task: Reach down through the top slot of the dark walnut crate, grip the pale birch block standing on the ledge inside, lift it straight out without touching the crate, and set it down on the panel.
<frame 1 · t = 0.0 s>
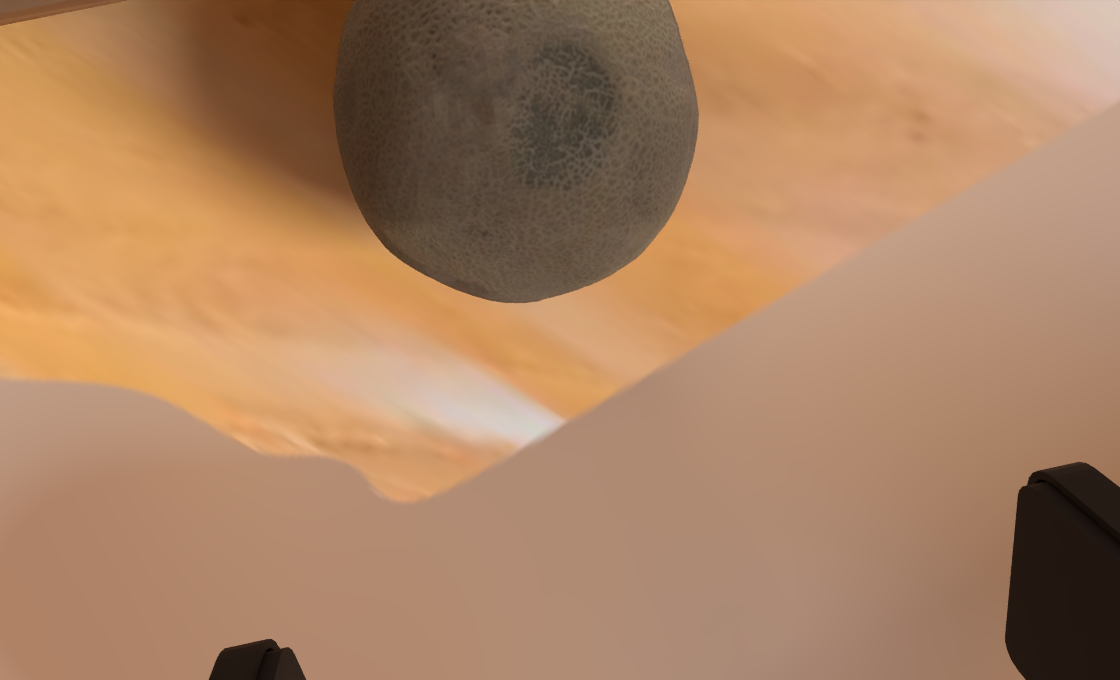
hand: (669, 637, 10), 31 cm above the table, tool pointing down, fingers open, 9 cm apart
dark grey rounded lump: (508, 92, 37), on the table
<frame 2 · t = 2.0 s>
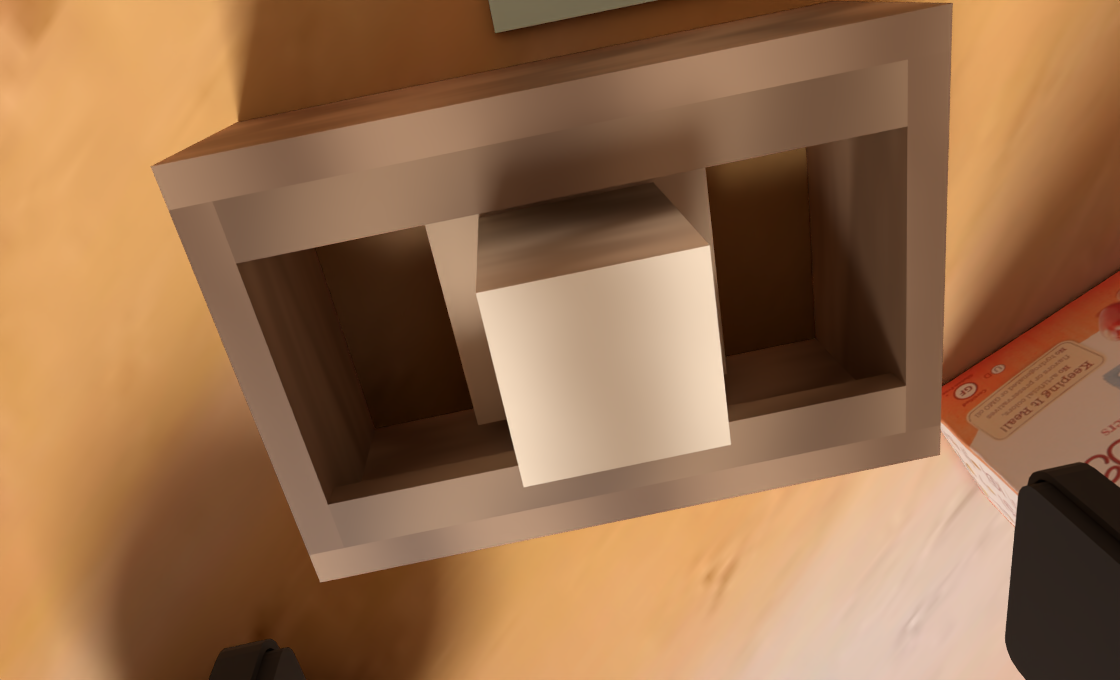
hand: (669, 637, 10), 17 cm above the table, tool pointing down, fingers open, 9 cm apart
crate: (570, 251, 25), on the table
cracker box: (1104, 336, 29), on the table
block: (581, 282, 23), point 3 cm above the table, touching crate
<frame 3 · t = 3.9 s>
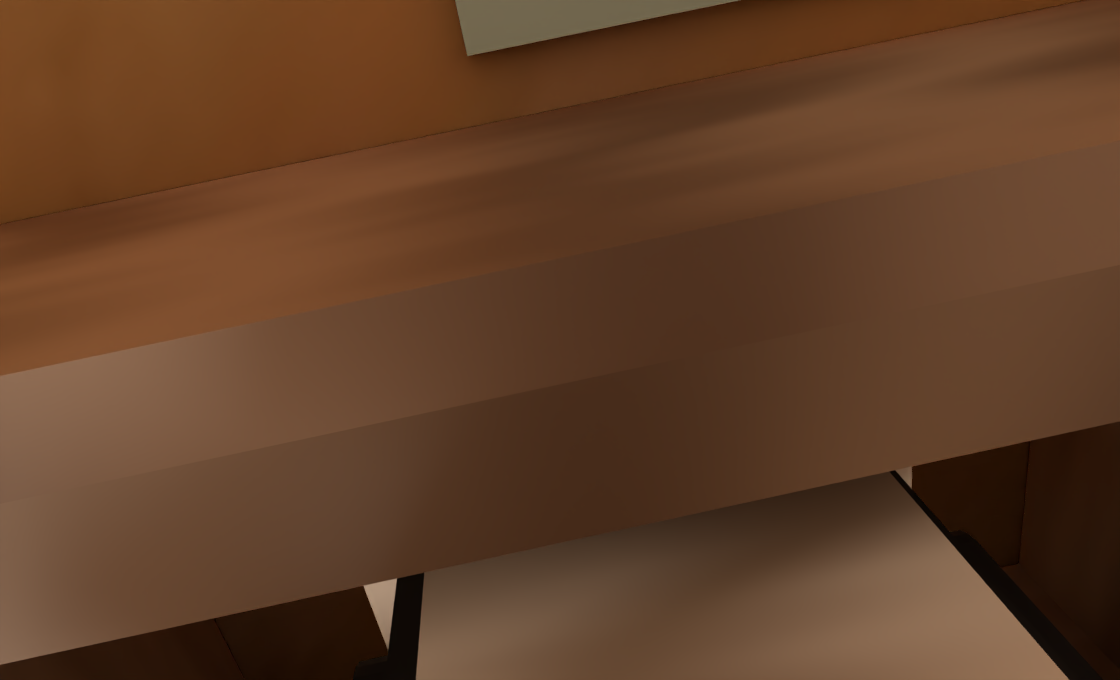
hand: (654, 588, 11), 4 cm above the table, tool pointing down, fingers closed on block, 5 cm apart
crate: (611, 447, 14), on the table
block: (645, 558, 11), point 3 cm above the table, touching crate, gripper
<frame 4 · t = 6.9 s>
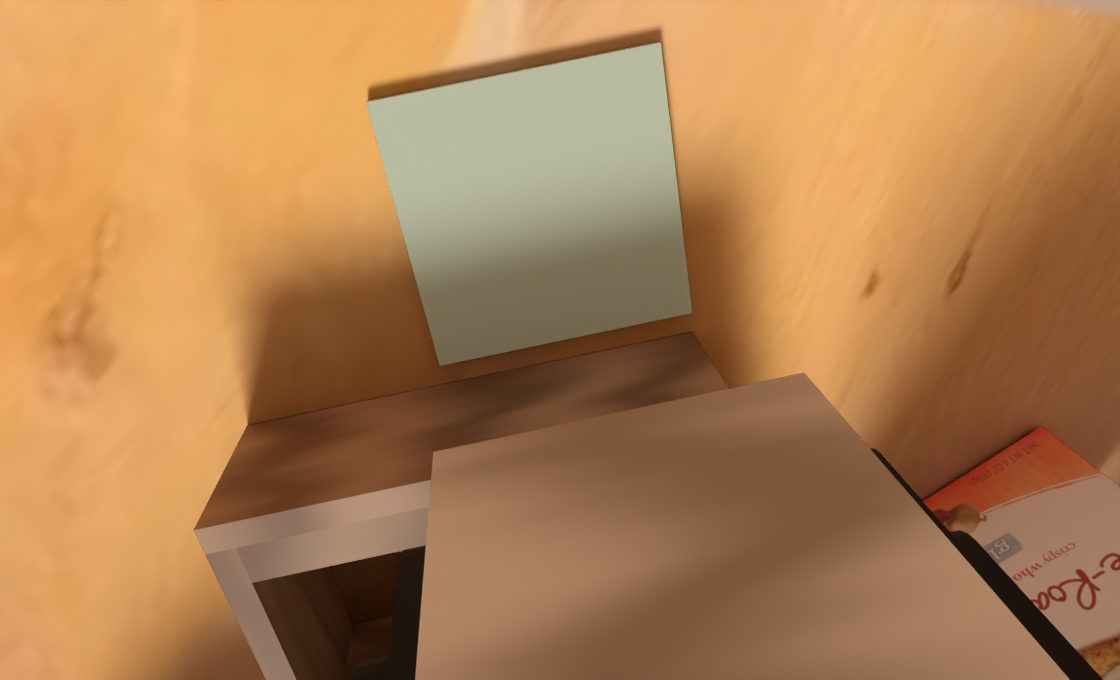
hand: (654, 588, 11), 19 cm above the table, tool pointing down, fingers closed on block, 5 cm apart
panel: (541, 213, 28), on the table
crate: (502, 499, 33), on the table
cracker box: (924, 538, 37), on the table
block: (644, 557, 11), point 19 cm above the table, touching gripper
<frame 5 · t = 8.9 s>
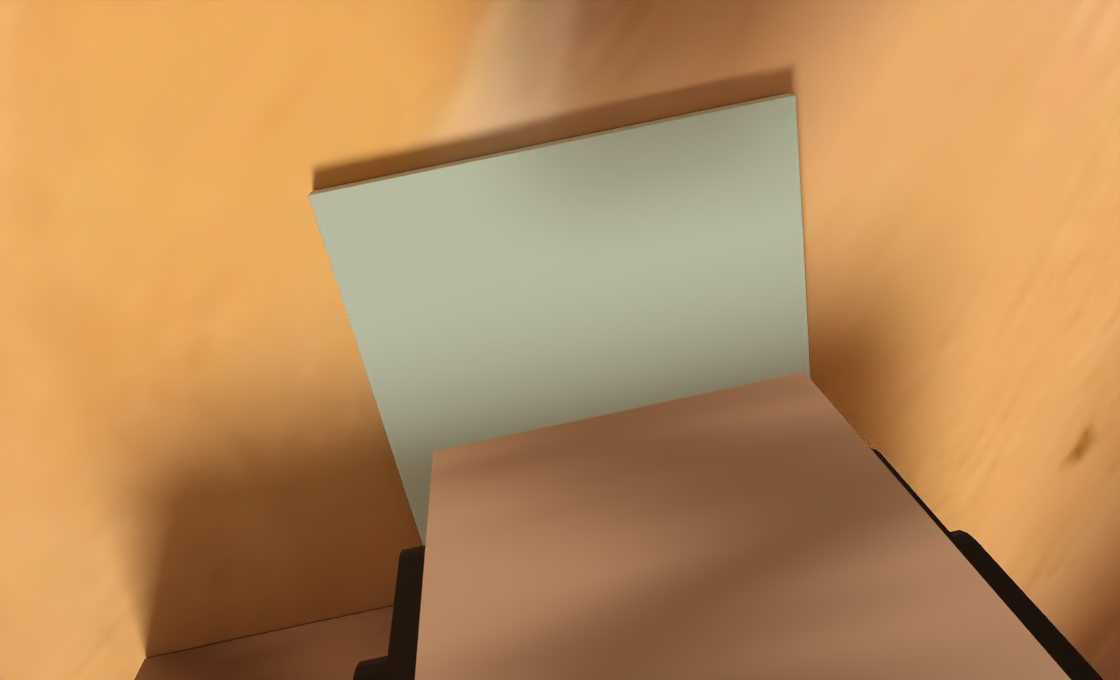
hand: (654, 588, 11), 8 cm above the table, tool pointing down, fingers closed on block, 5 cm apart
panel: (591, 356, 18), on the table
block: (644, 557, 11), point 7 cm above the table, touching gripper
when the fingers open (3 cm above the table, at t = 10.4 s): block drops 2 cm, resting on panel.
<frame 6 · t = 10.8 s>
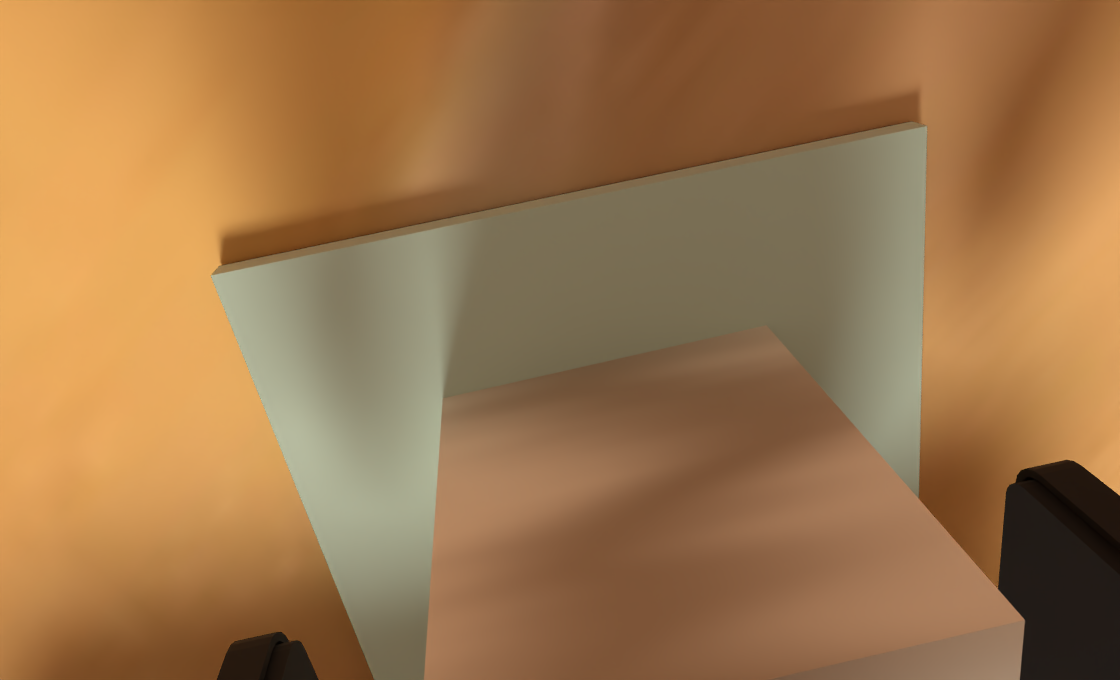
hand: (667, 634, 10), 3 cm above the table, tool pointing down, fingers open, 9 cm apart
panel: (620, 479, 13), on the table
block: (630, 494, 13), resting on panel
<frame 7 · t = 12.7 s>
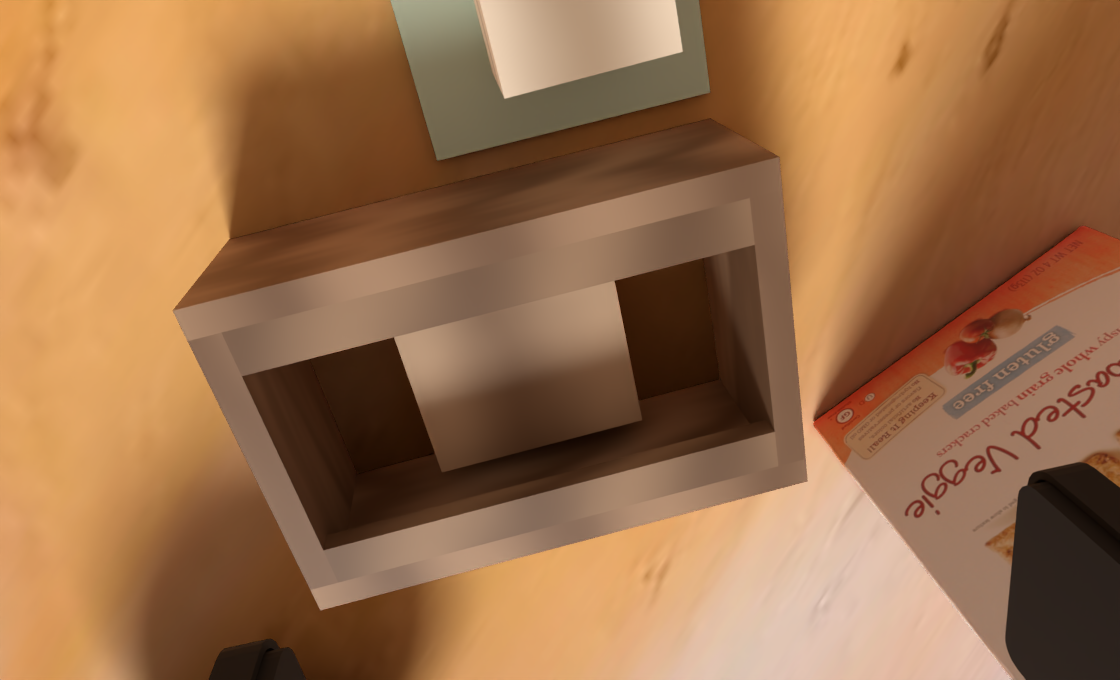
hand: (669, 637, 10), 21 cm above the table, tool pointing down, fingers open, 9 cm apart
crate: (511, 323, 31), on the table
cracker box: (959, 362, 35), on the table
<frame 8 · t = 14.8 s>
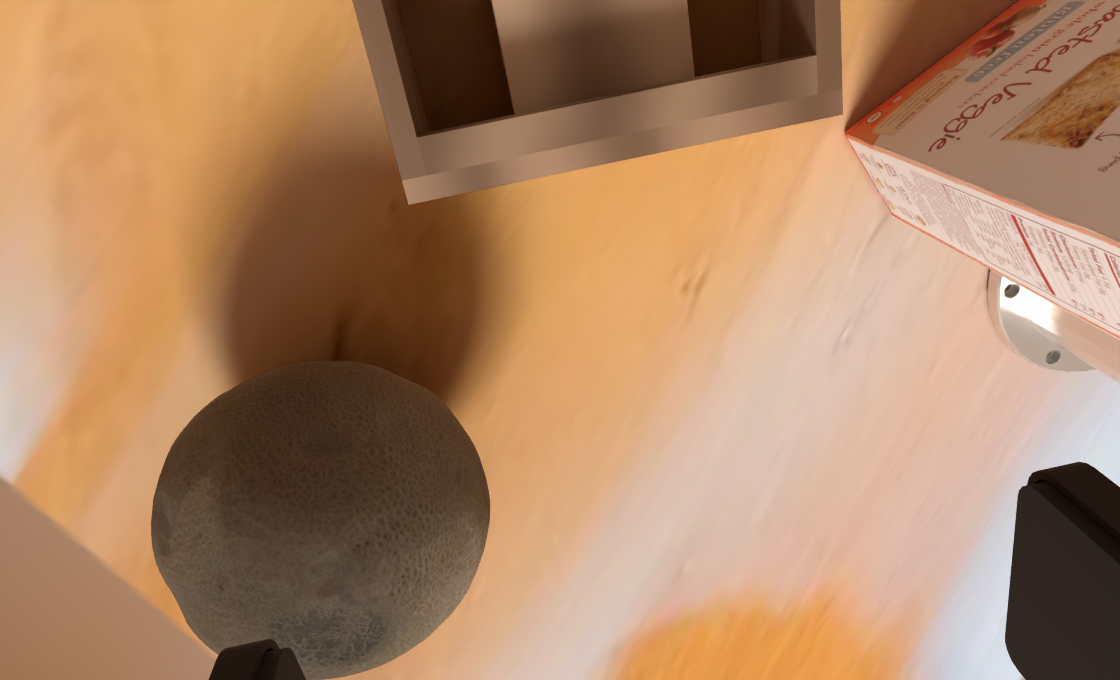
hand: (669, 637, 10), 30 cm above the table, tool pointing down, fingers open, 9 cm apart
dark grey rounded lump: (352, 418, 42), on the table
cracker box: (979, 83, 38), on the table
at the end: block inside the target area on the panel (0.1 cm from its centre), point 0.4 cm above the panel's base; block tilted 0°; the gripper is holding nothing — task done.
